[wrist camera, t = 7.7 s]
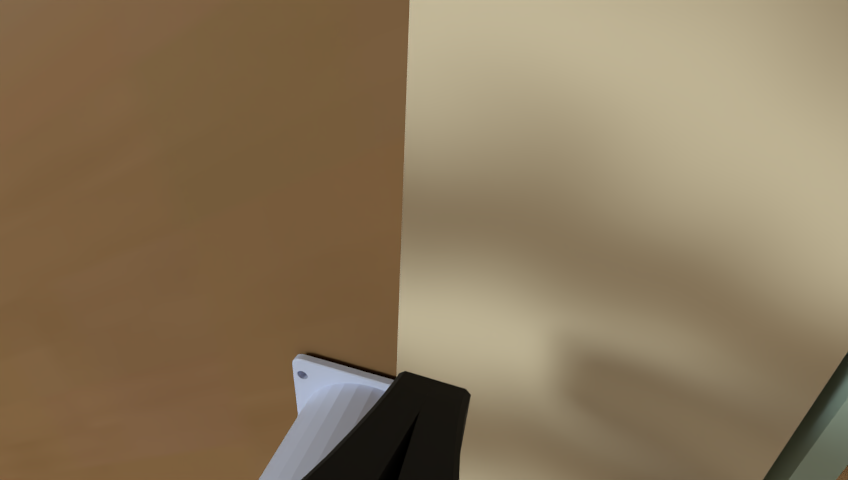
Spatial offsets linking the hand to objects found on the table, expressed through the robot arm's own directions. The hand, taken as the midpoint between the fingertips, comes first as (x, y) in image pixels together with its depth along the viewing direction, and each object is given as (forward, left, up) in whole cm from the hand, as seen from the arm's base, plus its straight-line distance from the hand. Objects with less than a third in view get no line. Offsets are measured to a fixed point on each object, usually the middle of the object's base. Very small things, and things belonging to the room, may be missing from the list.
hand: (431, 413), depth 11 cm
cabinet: (+2, -3, -9) cm, 10 cm away
